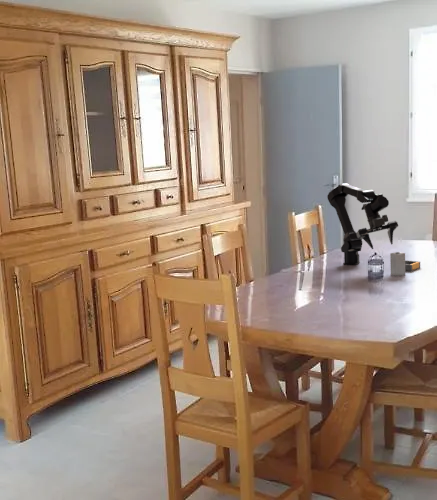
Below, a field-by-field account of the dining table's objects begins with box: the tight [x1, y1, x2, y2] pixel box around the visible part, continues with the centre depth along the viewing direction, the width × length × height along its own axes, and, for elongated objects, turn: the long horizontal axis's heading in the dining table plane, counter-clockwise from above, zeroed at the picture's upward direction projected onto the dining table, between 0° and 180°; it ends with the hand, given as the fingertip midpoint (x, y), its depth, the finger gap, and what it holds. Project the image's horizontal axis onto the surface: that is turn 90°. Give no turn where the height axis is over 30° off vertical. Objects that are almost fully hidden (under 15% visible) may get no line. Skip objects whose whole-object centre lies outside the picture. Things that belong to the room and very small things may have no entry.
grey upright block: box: [389, 251, 406, 277], centre depth 295 cm, size 4×5×10 cm
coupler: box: [405, 259, 421, 272], centre depth 307 cm, size 9×9×3 cm
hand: (382, 246), depth 304 cm, fingers open, 9 cm apart
